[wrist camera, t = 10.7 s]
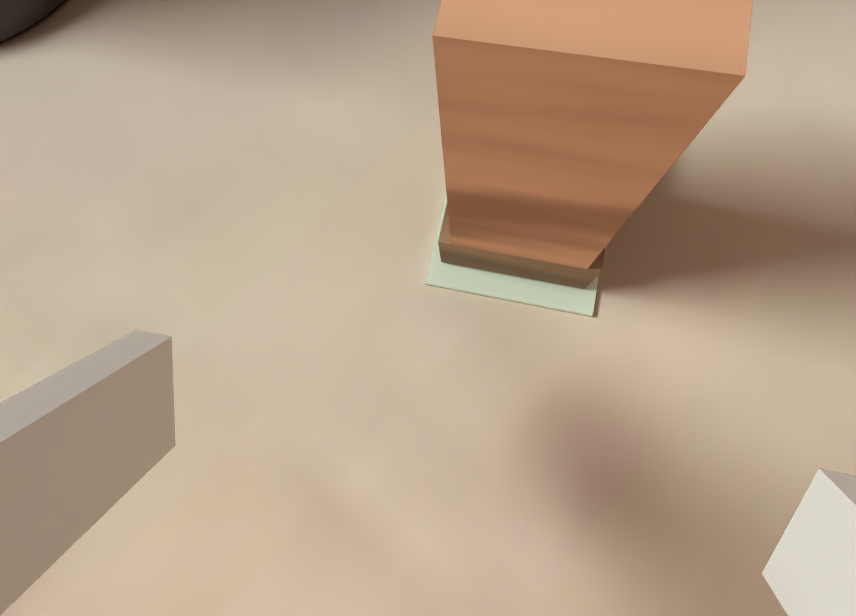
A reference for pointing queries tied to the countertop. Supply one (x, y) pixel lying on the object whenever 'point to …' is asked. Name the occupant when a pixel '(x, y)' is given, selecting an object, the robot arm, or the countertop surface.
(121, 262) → the countertop surface
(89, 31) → the countertop surface
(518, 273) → the wooden pillar on base
